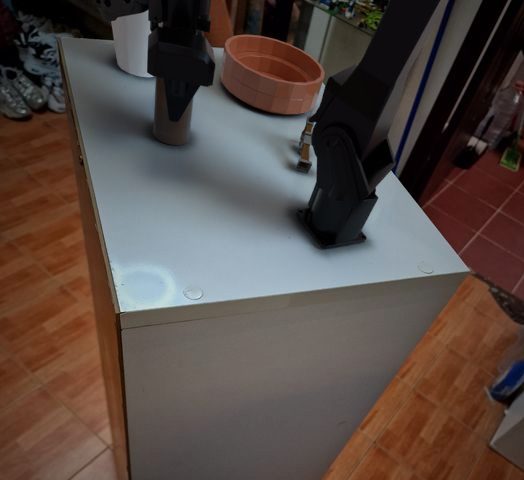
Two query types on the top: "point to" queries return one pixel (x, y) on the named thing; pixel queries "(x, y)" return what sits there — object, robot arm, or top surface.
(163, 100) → the brown cylinder
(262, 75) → the bowl
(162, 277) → the top surface
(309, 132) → the wooden post with brackets
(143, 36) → the foam cup
